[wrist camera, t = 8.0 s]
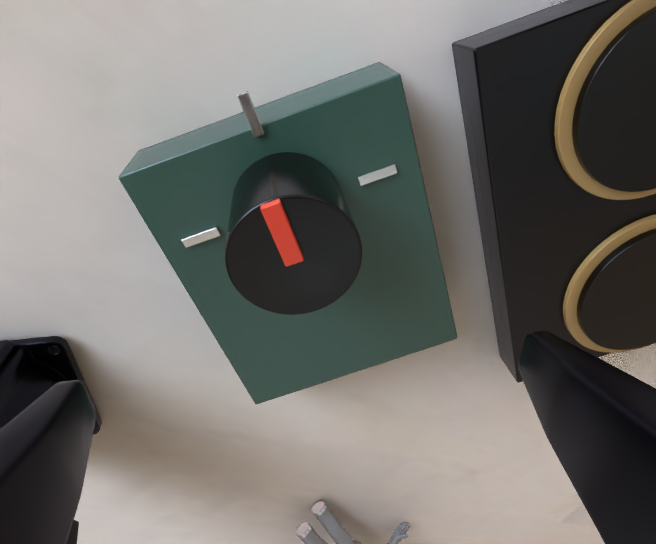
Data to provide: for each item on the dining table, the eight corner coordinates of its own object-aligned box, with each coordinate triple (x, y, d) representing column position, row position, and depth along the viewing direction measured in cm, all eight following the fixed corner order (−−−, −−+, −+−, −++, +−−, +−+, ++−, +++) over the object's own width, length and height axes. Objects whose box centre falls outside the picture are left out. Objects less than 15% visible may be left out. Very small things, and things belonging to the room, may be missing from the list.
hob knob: (355, 233, 18) (379, 296, 14) (257, 267, 18) (257, 338, 14) (322, 134, 16) (341, 178, 12) (212, 174, 16) (198, 229, 12)
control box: (256, 362, 24) (255, 407, 22) (122, 123, 17) (96, 147, 15) (437, 301, 24) (459, 340, 21) (372, 30, 17) (394, 37, 14)
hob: (499, 356, 26) (523, 393, 24) (450, 42, 17) (482, 51, 15) (725, 282, 26) (774, 313, 23) (796, -84, 17) (889, -98, 14)
